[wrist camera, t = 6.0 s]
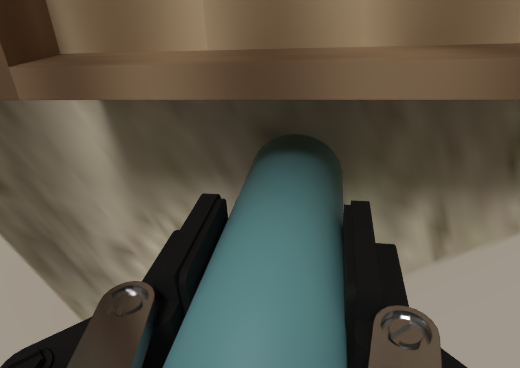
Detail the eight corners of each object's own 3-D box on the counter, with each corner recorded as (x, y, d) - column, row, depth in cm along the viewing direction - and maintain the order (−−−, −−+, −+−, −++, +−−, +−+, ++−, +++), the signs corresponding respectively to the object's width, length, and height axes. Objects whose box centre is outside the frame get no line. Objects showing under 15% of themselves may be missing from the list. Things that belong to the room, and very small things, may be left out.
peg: (344, 135, 15) (364, 513, 4) (339, 216, 17) (345, 620, 6) (249, 133, 15) (71, 458, 5) (254, 212, 17) (131, 569, 7)
